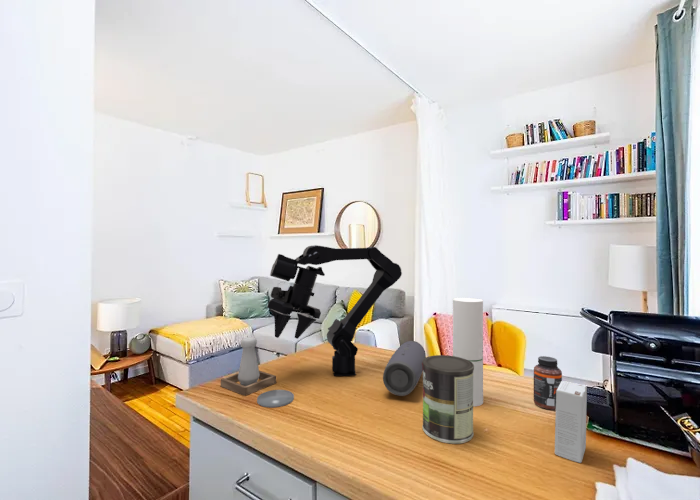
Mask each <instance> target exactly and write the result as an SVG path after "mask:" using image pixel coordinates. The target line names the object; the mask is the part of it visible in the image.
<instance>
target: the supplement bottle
mask: <svg viewBox="0 0 700 500" xmlns="http://www.w3.org/2000/svg"><path fill="white" fill-rule="evenodd" d="M537 362H538V363H537V364H536V365H534V367H533V402H534V404H535V405H536V406H537V407H540V408H542V409H546V410H550V411H556V390H557V389H558V387H559V385H560V383H561V381H563V372H562V370H561V369H560V368H559V367H558V359H557V358H555V357H553V356H552V357H551V356H546V355H545V356H544V355H543V356H542V355H540V356H538V357H537Z"/></svg>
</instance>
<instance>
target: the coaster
mask: <svg viewBox="0 0 700 500" xmlns="http://www.w3.org/2000/svg"><path fill="white" fill-rule="evenodd" d="M294 399H295V395H294V393H293V392H292V391H289V390H286V389H272V390H267V391H265V392H262V393H261V394H259V395H258V396H257V398H256V403H257V404H258V405H259V406H260V407H263V408H281V407H285V406H287V405H289V404H291V403H292V402H293V401H294Z"/></svg>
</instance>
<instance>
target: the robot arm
mask: <svg viewBox="0 0 700 500" xmlns="http://www.w3.org/2000/svg"><path fill="white" fill-rule="evenodd" d="M352 260H353V261H355V260H367V261H368V262H369V263H370V265H371V267H373V268H374V270H375V272H374V274H373V278H372V281H371V283H370V285H369V286H368V287H367V288H366V290H365V291H364V292H363V294H362V295H361V296H360V298H359V299H358V300H357V301H356V303H355V304H354V305H353V307H352V308H351V310H349V312H348V313H347V314H346V316H344V318H343V319H341V320H339V319H337V318H336V319H334V320H333V322H332V324H331V326H329V327H328V328H327V330H328V331H327V334H326V341H327V342H328V343H329V344H330V346H332V348H333V350H334V351H333V354H334V355H332V356H331V358H332V361H331V363H332V365H331V366H332V367H331V368H332V369H331V371H332V373H333V376H334V377H343V376H345V377H346V376H351V377H352V376H357V375H356V374H357V373H356V355H357V353H358V350H359V348H358V347H357V346H356V345H355V344H354V343H353V339H354V336H355V334H356V330H357V327H358V325H359V324H360V323H361V322H362V321H363V319H364V318H365V316H366V315H367V314H368V312H370V310H371V308H372V307H373V306H374V305H375V303H376V302H377V301H378V299H379V298H380V296H382V294H383V292H384V291H386V290H387V289H388V288H390V287H392V286H393V285H395V283H397V281H398V280H400V279H401V277H402V275H403V272H402V268H401V266H400V265H399V264H398V263H396V262H393V260H391V259H390V258H389V257H388V256H386V255H385V254H384V253H382V252H381V251H380V250H379V249H378V247H376V246H368V247H352V248H351V247H349V248H347V247H346V248H335V247H329V246H324V245H317V244H314V245H309V246H307V247H305V248H304V250H303V252H302V254H301V255H299V256H298V257H296V258H291V257H288V256H285V254H280V253H278V254H277V256H276V259H275V260H274V263H273V264H272V266H271V270H270V274H269V276H270V277H273V278H277V279H279V280H283V281H285V282H290V281H291V279H292V280H294V279H295V280H294V283H293V285H290V286H289V287H288V289H287V290H282V288H281V287H279V286H273V288H272V289H271V292H270V297H271V299H270V300H269V301H268V304H267V309H269V312H271V314H272V315H273V318H274V337H275V338H277V339H278V338H280V337H281V334H282V333H283V332H284V329H286V326H287V324H288V323H289V321H290V320H291V317H292V316H291V314H292V313H296V315H297V318H298V321H297V324H296V325H297V326H296V328H295V334H294V338H295V339H299V338H300V337H301V336H302V335H303V334H304V333H305V331H306V330H307V329H309V327H310V326H311V325H312V324H313V323H314V322H316V321H317V319H320V317H321V313H322V311H321V309H320V308H317V307H314V306H311V305H309V302H310V299H311V297H314V296H315V292H313V291H314V290H313V289H314V287H315V284H316V280H317V277H318V276H321V277H325V272H324V271H323V268H322V266H319V265H323V264H328V263H330V262H334V261H352ZM299 265H303V266H306V265H307V266H306V267H302V266H299ZM311 265H315V266H319V267H314V266H311Z"/></svg>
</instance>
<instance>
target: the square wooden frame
mask: <svg viewBox="0 0 700 500" xmlns="http://www.w3.org/2000/svg"><path fill="white" fill-rule="evenodd" d="M238 373H239V372H237V373H234V374H231V375H229V376H226V377H223V378H220V387H221V388H223V389H227V390H229V391H232V392H234V393H237V394H239V395H242V396H244V397H246V396H248V395H251V394H253V393H255V392H258V391H260V390H262V389H266V388H268V387H270V386H272V385H275V384H277V375H275V374H271V373H268V372H265V371H261V370H259V373H260V376H259V379H258V381H257V382H256V383H253V384H250V385H248V386H243V385H241V384H240V383H237V382H239V380H238Z"/></svg>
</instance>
